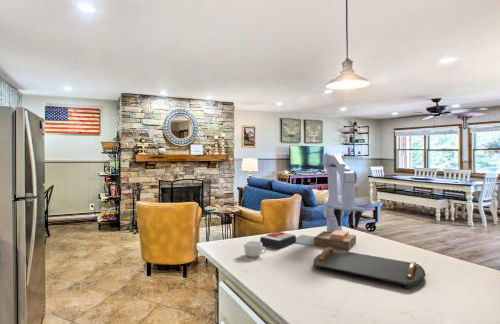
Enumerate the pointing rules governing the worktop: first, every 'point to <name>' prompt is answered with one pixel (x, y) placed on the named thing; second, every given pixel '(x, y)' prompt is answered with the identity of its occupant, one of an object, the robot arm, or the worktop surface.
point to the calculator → (277, 240)
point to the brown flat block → (334, 241)
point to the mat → (305, 240)
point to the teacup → (253, 248)
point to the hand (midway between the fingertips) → (347, 226)
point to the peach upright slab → (339, 234)
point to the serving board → (371, 266)
